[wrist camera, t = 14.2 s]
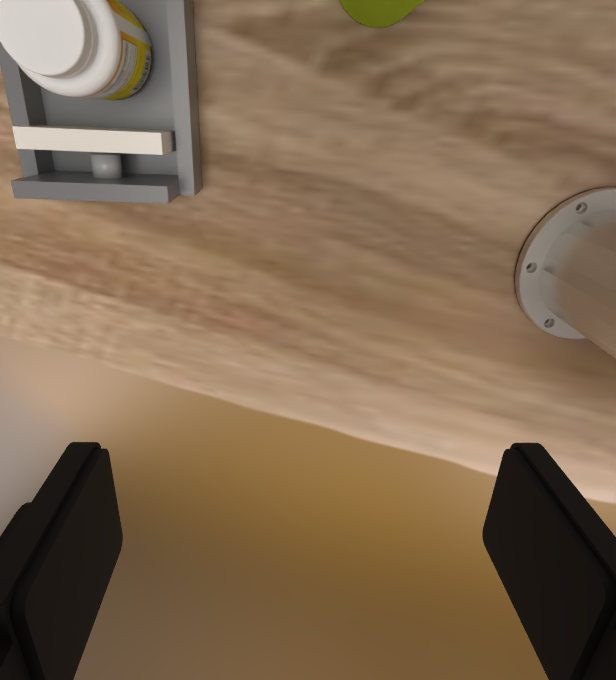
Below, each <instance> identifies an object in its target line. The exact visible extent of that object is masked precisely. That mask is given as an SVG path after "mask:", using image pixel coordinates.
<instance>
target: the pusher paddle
mask: <svg viewBox="0 0 616 680" xmlns="http://www.w3.org/2000/svg"><path fill="white" fill-rule="evenodd" d="M12 128H13V133H14V138H15V143H16V148H17V149H35V150H59V151H83V152H107V153H131V154H155V155H164V154H167V153H170V152H173V151H176V137H175V131H169V130H147V129H125V128H103V127H80V126H58V125H39V126H12Z"/></svg>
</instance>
